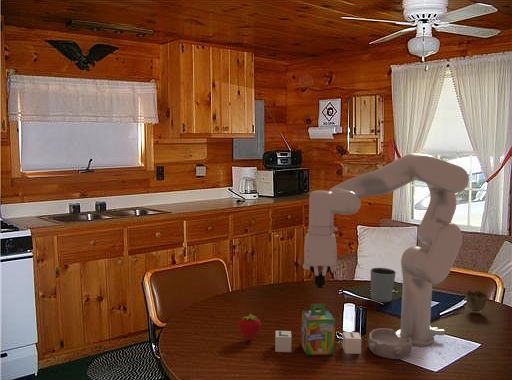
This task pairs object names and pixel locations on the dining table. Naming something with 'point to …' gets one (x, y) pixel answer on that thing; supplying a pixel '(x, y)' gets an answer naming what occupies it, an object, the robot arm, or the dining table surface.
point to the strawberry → (249, 326)
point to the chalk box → (318, 331)
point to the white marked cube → (283, 341)
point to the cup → (476, 301)
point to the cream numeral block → (352, 342)
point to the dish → (389, 344)
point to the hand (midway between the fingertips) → (319, 286)
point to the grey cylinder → (382, 284)
